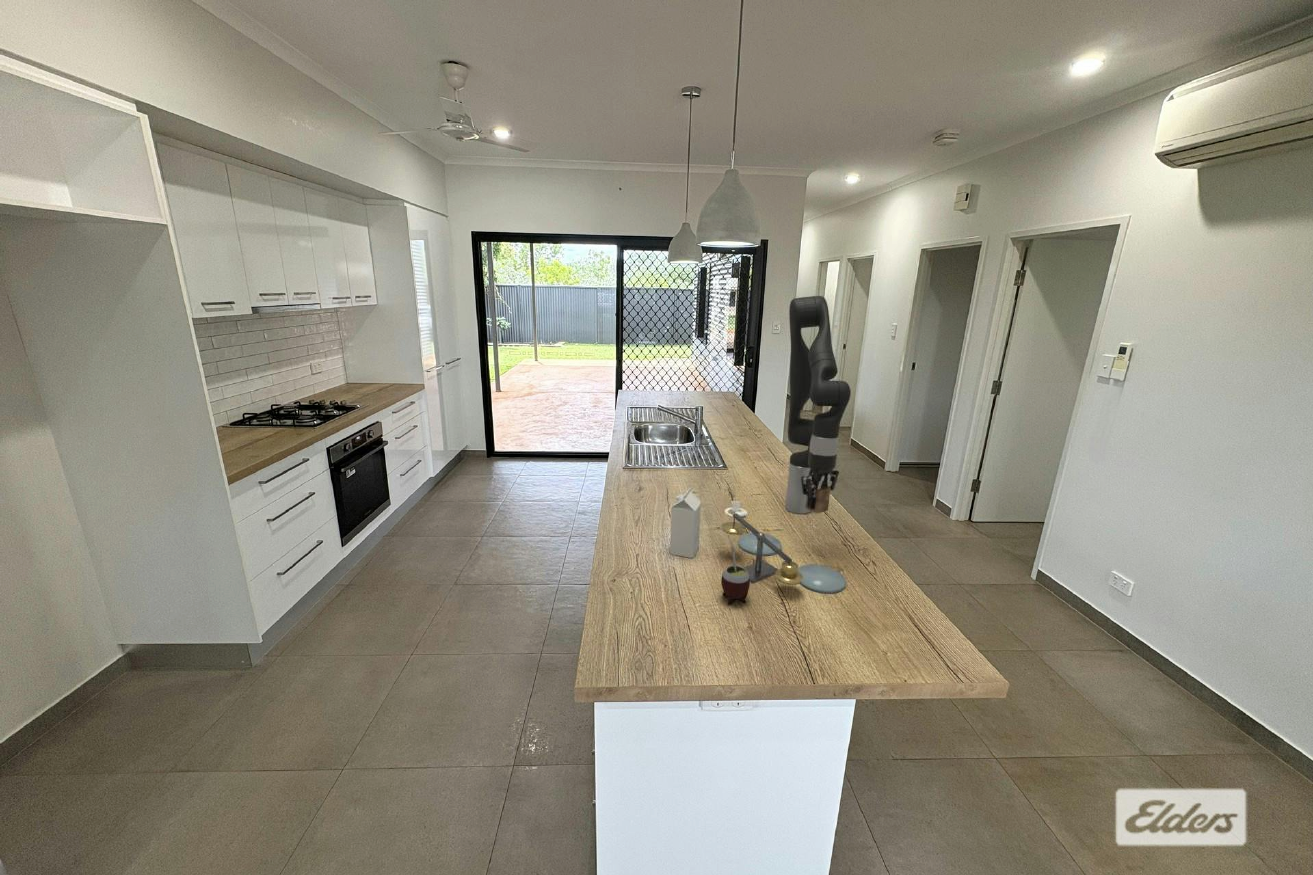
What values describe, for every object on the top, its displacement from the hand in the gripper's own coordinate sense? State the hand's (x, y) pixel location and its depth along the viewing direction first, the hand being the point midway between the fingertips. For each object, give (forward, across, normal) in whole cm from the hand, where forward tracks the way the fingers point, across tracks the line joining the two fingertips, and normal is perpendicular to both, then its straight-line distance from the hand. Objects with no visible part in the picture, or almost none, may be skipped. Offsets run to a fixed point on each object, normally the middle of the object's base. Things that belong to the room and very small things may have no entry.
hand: (816, 506), depth 149 cm
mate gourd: (+15, +36, +5) cm, 40 cm away
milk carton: (+15, +32, -21) cm, 41 cm away
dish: (+15, +10, +12) cm, 21 cm away
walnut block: (+1, 0, 0) cm, 1 cm away
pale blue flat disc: (+15, +10, -12) cm, 22 cm away
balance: (+15, +22, 0) cm, 27 cm away
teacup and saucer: (+16, +2, -34) cm, 37 cm away
